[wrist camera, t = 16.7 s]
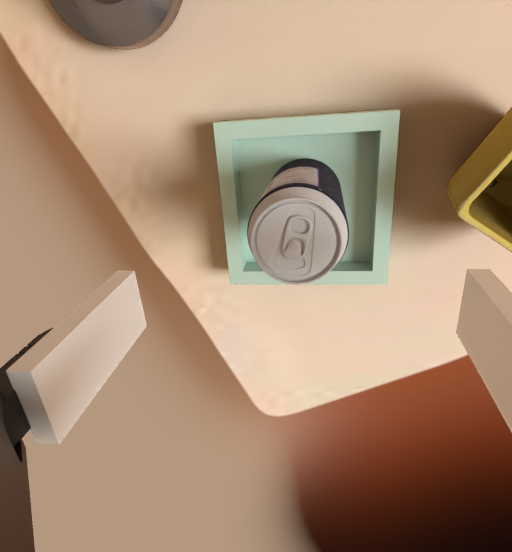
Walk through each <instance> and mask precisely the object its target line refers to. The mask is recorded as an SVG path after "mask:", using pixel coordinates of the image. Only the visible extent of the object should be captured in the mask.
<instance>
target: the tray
mask: <svg viewBox="0 0 512 552" xmlns="http://www.w3.org/2000/svg"><path fill="white" fill-rule="evenodd" d="M399 121H400V110H396V109H384V110H370V111H355V112H341V113H326V114H311V115H297V116H282V117H268V118H253V119H238V120H224V121H219V122H215V123H213V128H214V137H215V147H216V156H217V166H218V175H219V184H220V194H221V203H222V213H223V222H224V231H225V241H226V250H227V260H228V269H229V278H230V284H287V283H283V282H280V281H277V280H275V279H273V278H272V277H270V276H269V275H267V274H266V273H265V272H264V271H263V270H262V269H261V268H260V266H259V265H258V264H257V262H256V260H255V259H254V256H253V254H252V252H251V250H250V247H249V244H248V238H247V228H248V222H249V218H250V216H251V213H252V211H253V209H254V208H255V206H256V204H257V203H258V201H259V200H260V198H261V196H262V195H263V193H264V191H265V190H266V188H267V186H268V185H269V183H270V181H271V180H272V178H273V176H274V175H275V173H276V172H277V171H278V170H279V169H280V168H281V167H282V166H283V165H285V164H286V163H288V162H290V161H293V160H296V159H301V158H310V159H315V160H318V161H321V162H323V163H324V164H326V165H327V166H329V167H330V168H331V169H332V170H333V171H334V173H335V174H336V176H337V178H338V180H339V182H340V186H341V191H342V196H343V201H344V206H345V211H346V216H347V221H348V226H349V241H348V245H347V248H346V251H345V253H344V255H343V257H342V259H341V260H340V262H339V263H338V264H337V265H336V266H335V267H334V268H333V269H332V270H331V271H330V272H329V273H328V274H326V275H325V276H324V277H322V278H321V279H319V280H317V281H314V282H312V283H307V284H310V285H387V281H388V267H389V254H390V241H391V228H392V214H393V201H394V188H395V174H396V161H397V148H398V135H399Z"/></svg>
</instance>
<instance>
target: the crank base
mask: <svg viewBox="0 0 512 552" xmlns="http://www.w3.org/2000/svg"><path fill="white" fill-rule="evenodd" d="M49 1H50V3H51V4H52V6H53V7H54V9H55V10H56V12H57V13H58V14H59V16H60V17H61V18H62V20H63V21H64V22H65V23H66V24H67V25H68V26H69V27H70V28H71V29H73V30H74V31H75V32H76V33H78V34H79V35H81V36H82V37H84V38H86V39H88V40H90V41H92V42H94V43H97V44H101V45H104V46H109V47H113V48H118V49H136V48H141V47H144V46H146V45H149V44H150V43H152V42H154V41H156V40H157V39H158V38H159V37H161V36H162V35H163V34H164V33H165V32H166V31H167V30H168V28H169V27H170V26H171V24H172V23H173V21H174V19H175V18H176V16H177V14H178V11H179V9H180V6H181V4H182V0H123V1H121V2H119V3H116V4H109V5H108V4H101V3H98V2H96V1H94V0H49Z"/></svg>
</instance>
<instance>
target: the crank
mask: <svg viewBox="0 0 512 552" xmlns="http://www.w3.org/2000/svg"><path fill="white" fill-rule="evenodd" d="M94 1H96V2H98V3H101V4H108V5H109V4H116V3H119V2H121V1H123V0H94Z"/></svg>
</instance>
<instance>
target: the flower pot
mask: <svg viewBox="0 0 512 552" xmlns="http://www.w3.org/2000/svg"><path fill="white" fill-rule="evenodd" d="M493 179H495V180H496V183H495V185H493V186H489V184H490V183H491V182H492V180H493ZM447 195H448V197H449V200H450V202H451V203H452V205H453V207H454V209H455V211H456V213H457V215H458V216H459V218H461V219H462V220H463V221H465V222H467V223H468V224H470V225H471V226H473V227H474V228H476V229H478V230H479V231H481V232H482V233H484V234H485V235H487V236H488V237H490V238H491V239H493V240H494V241H496V242H497V243H499V244H500V245H502V246H503V247H505V248H506V249H508V250H509V251H511V252H512V107H511V109H510V110H509V111H508V112H507V113H506V115H505V116H504V117H503V118H502V119H501V121H500V122H499V123H498V124H497V125H496V126H495V128H494V129H493V130H492V131H491V132H490V133H489V135H488V136H487V137H486V138H485V139H484V140H483V142H482V143H481V144H480V145H479V146H478V147H477V149H476V150H475V151H474V152H473V153H472V154H471V156H470V157H469V158H468V159H467V160H466V161H465V163H464V164H463V165H462V166H461V167H460V168H459V169H458V170H457V172H456V173H455V174H454V175H453V176H452V178H451V179H450V180H449V182H448V185H447Z"/></svg>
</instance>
